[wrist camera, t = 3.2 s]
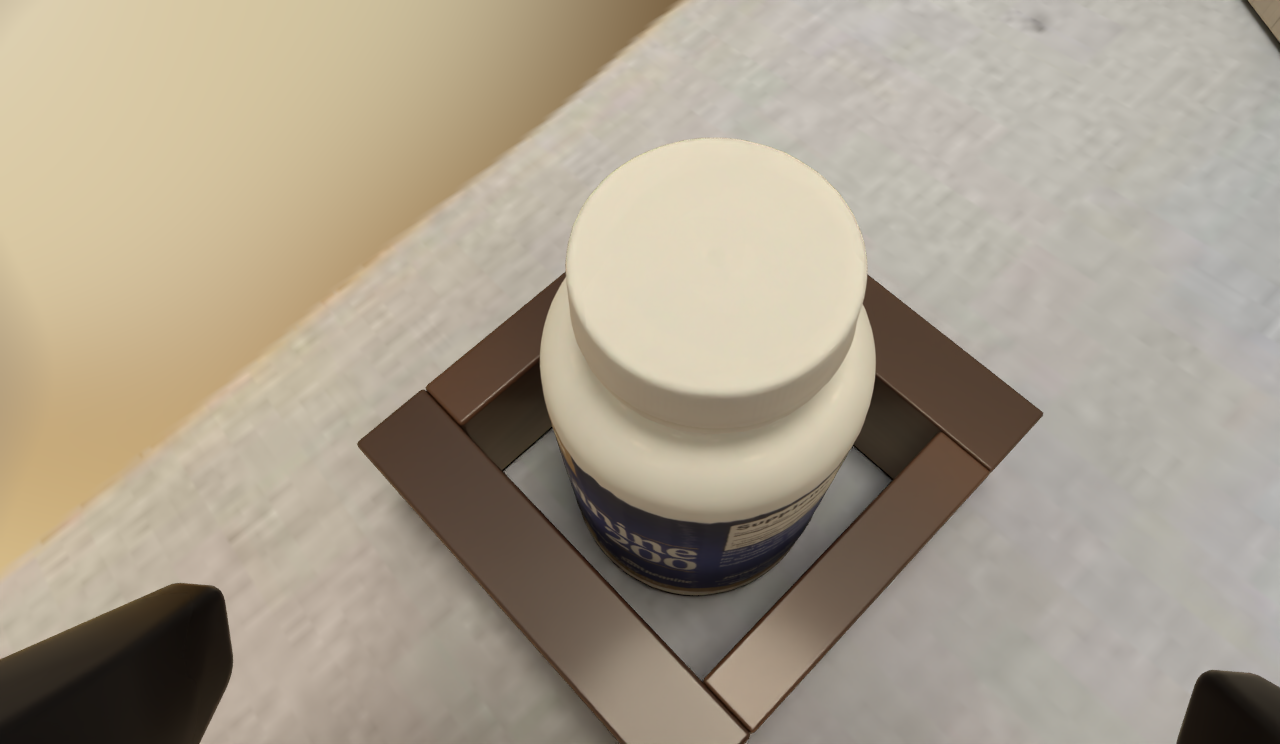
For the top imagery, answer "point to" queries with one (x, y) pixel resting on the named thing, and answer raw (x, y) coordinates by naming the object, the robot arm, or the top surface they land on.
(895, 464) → the holder
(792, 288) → the pill bottle
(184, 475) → the top surface
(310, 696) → the top surface
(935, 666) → the top surface
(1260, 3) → the beige wooden bar
